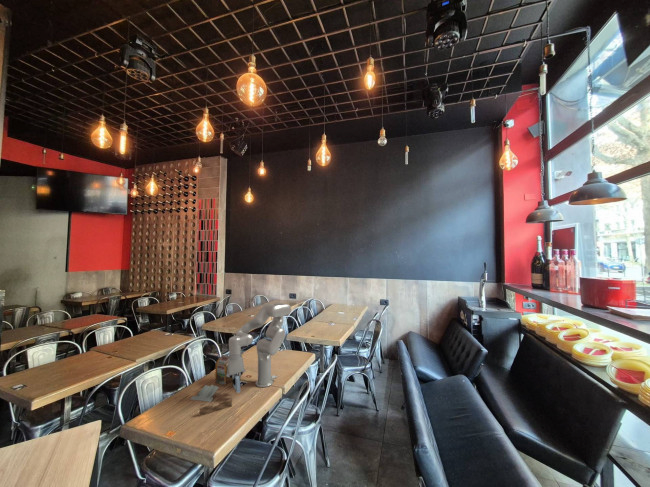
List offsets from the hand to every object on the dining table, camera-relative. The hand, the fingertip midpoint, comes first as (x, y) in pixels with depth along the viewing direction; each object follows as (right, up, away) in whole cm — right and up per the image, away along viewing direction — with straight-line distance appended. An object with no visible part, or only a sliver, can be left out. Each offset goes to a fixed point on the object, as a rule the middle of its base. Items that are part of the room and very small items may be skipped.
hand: (236, 383), depth 173 cm
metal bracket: (-20, -10, +1) cm, 23 cm away
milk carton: (-15, -10, +21) cm, 28 cm away
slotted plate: (0, -4, 0) cm, 4 cm away
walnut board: (-7, -8, -16) cm, 19 cm away
